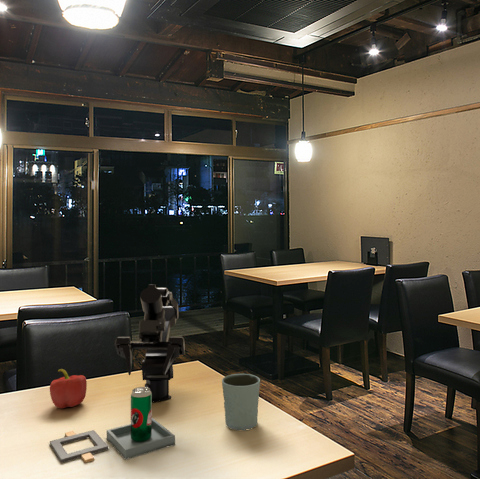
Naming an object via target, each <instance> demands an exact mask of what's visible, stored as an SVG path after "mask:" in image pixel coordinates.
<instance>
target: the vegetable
mask: <svg viewBox="0 0 480 479" xmlns="http://www.w3.org/2000/svg"><path fill="white" fill-rule="evenodd" d="M57 372H58V373H62V374H63V376H62V377H59V378H57V379H53V380H52V381H51V383H50V385H49V395H50V398H51V401H52V402H51V403H53V405H54V406H55V407H56V408H58V409H65V408H72V407H76V406H78V405H80V404H81V403H83V401H84V400H85V399H86V398H85V397H86V395H87V386H88V381H87V378H86V376H84V375H83V374H82V375H81V374H80V375H77V374H75V375H73V374H72V375H69V374H68V372H67V371H66V370H65V369H63V368H60V369H58V370H57Z"/></svg>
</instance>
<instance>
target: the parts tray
mask: <svg viewBox="0 0 480 479" xmlns="http://www.w3.org/2000/svg"><path fill="white" fill-rule="evenodd" d="M106 440H107V441H108V443H110V444H111V446H112V447H114V449H115V450H116V451H117V452H118V453H119V454H120V455H121V457H122V458H123V459H124V460H130V459H132V458H136V457H139V456H142V455H145V454H149V453H152V452H154V451H155V452H156V451H159V450H161V449H162V450H163V449H166V448H168V447H171V446H175V445H176V435H175V434H174V433H173V432H171V431H170V430H169V429H168V428H166V427H165V426H163V425H162V423H160V422H159V421H157V420H156V419H155V418H153V417H152V436H151V438H150V439H149V440H147V441H145V442H135V441H133V440H132V439H131V423H129V424H125V425H121V426H117V427H113V428H109V429H106Z"/></svg>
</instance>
